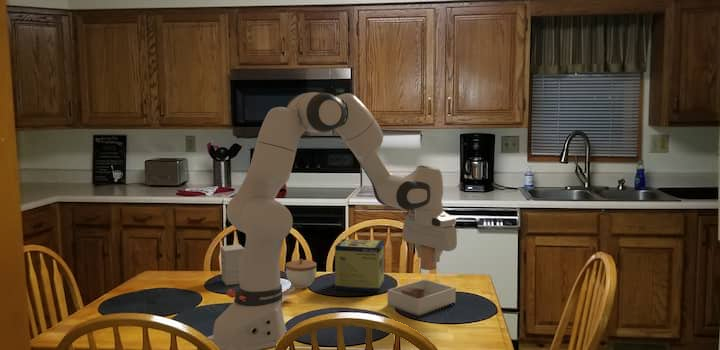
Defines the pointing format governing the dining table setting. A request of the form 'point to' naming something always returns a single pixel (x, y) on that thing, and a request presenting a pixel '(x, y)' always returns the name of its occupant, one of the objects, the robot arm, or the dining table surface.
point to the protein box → (359, 265)
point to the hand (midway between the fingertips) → (428, 259)
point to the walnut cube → (413, 292)
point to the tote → (432, 299)
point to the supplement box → (231, 263)
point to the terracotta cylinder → (427, 258)
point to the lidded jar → (301, 272)
